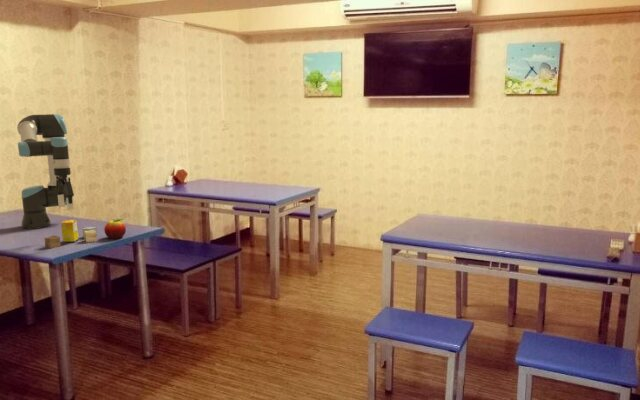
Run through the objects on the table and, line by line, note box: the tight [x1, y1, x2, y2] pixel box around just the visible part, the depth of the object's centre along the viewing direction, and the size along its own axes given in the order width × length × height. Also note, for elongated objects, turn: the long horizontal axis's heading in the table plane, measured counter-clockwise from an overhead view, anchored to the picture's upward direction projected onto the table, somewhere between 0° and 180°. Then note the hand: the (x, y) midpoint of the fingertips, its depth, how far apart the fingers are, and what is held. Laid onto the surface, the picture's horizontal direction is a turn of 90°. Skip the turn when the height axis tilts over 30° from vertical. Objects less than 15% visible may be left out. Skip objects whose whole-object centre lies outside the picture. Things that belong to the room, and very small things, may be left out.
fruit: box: [103, 218, 127, 240], centre depth 279 cm, size 11×11×10 cm
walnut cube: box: [44, 235, 61, 249], centre depth 263 cm, size 5×5×5 cm
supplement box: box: [60, 219, 80, 244], centre depth 272 cm, size 6×6×11 cm
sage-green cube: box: [82, 226, 98, 239], centre depth 282 cm, size 5×5×5 cm
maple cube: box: [84, 230, 98, 243], centre depth 273 cm, size 5×5×5 cm
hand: (66, 208), depth 270 cm, fingers open, 13 cm apart
